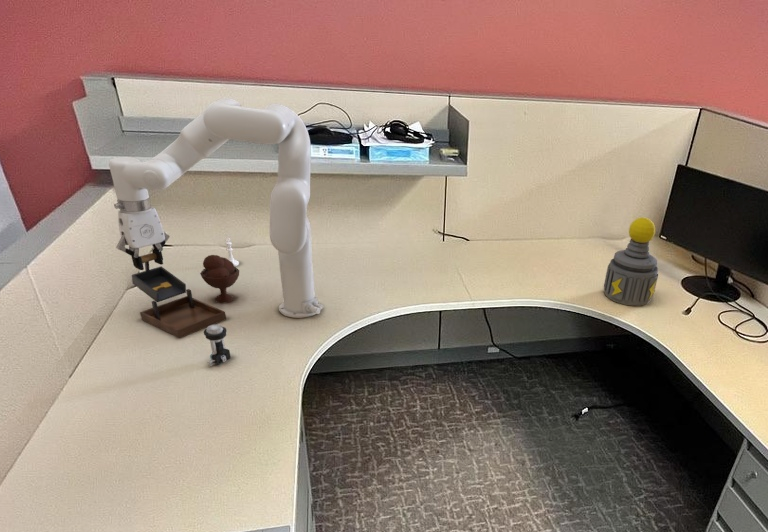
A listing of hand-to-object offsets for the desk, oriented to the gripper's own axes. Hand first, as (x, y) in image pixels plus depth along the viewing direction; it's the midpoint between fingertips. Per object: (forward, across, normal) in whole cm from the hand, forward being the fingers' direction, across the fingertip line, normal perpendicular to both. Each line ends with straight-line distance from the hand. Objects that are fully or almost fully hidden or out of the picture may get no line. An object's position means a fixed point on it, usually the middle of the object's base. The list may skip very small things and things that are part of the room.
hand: (149, 265), depth 164 cm
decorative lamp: (+13, +111, -112) cm, 158 cm away
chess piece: (+14, +36, +13) cm, 41 cm away
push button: (+14, -9, -39) cm, 42 cm away
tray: (+14, 0, -12) cm, 18 cm away
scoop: (+6, 0, -2) cm, 7 cm away
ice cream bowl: (+14, +16, -9) cm, 23 cm away
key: (+6, 0, -3) cm, 7 cm away
